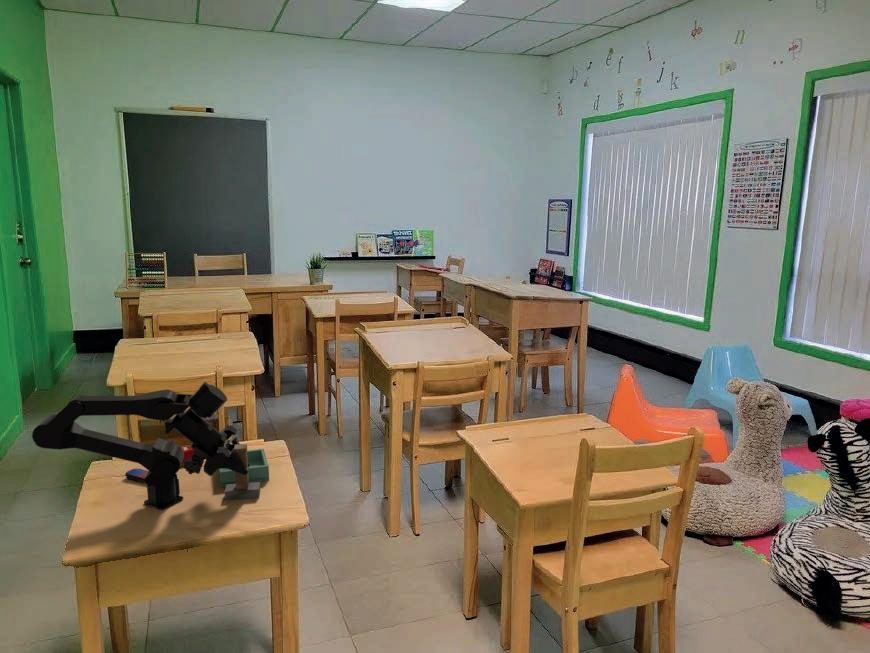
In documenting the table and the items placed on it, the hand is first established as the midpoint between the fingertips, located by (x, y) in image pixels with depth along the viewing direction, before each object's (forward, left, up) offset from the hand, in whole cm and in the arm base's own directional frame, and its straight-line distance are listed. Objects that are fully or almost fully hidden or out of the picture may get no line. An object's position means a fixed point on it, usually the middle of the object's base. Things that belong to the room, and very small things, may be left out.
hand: (247, 470), depth 158 cm
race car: (+5, +30, -7) cm, 31 cm away
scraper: (-1, +1, -7) cm, 7 cm away
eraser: (-7, +29, -7) cm, 31 cm away
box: (+8, +10, -7) cm, 15 cm away
